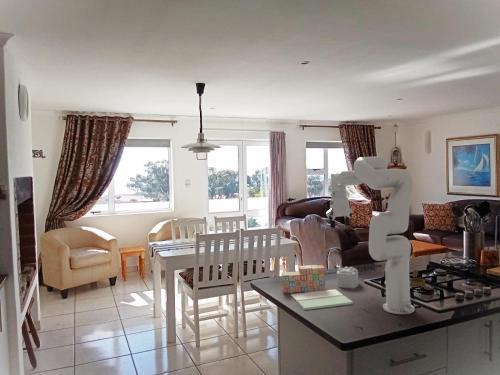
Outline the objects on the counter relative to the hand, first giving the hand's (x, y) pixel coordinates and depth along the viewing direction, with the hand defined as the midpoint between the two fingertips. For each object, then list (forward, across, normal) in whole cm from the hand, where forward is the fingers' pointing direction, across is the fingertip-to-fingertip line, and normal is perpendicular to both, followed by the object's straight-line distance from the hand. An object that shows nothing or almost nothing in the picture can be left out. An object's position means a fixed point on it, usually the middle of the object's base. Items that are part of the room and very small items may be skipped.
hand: (340, 226), depth 201 cm
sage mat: (+30, -27, -21) cm, 46 cm away
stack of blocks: (+31, -25, +1) cm, 39 cm away
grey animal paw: (+31, 0, -4) cm, 31 cm away
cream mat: (+30, -25, -11) cm, 40 cm away
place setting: (+31, +27, -28) cm, 49 cm away
